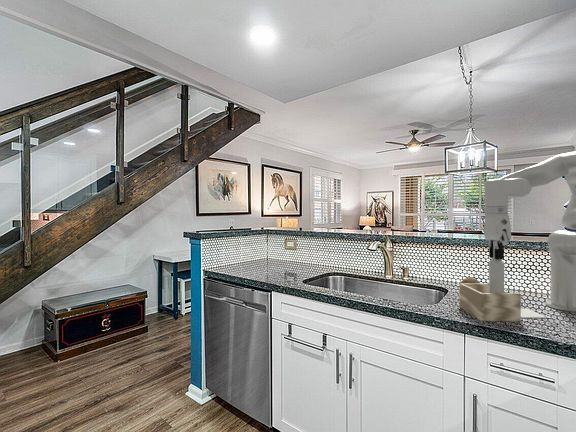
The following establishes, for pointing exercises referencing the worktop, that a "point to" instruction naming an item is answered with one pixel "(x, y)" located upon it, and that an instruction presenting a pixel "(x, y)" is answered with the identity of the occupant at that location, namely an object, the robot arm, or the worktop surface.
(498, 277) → the bottle
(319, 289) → the worktop surface
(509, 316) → the open side box
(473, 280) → the natural sponge
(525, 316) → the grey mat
